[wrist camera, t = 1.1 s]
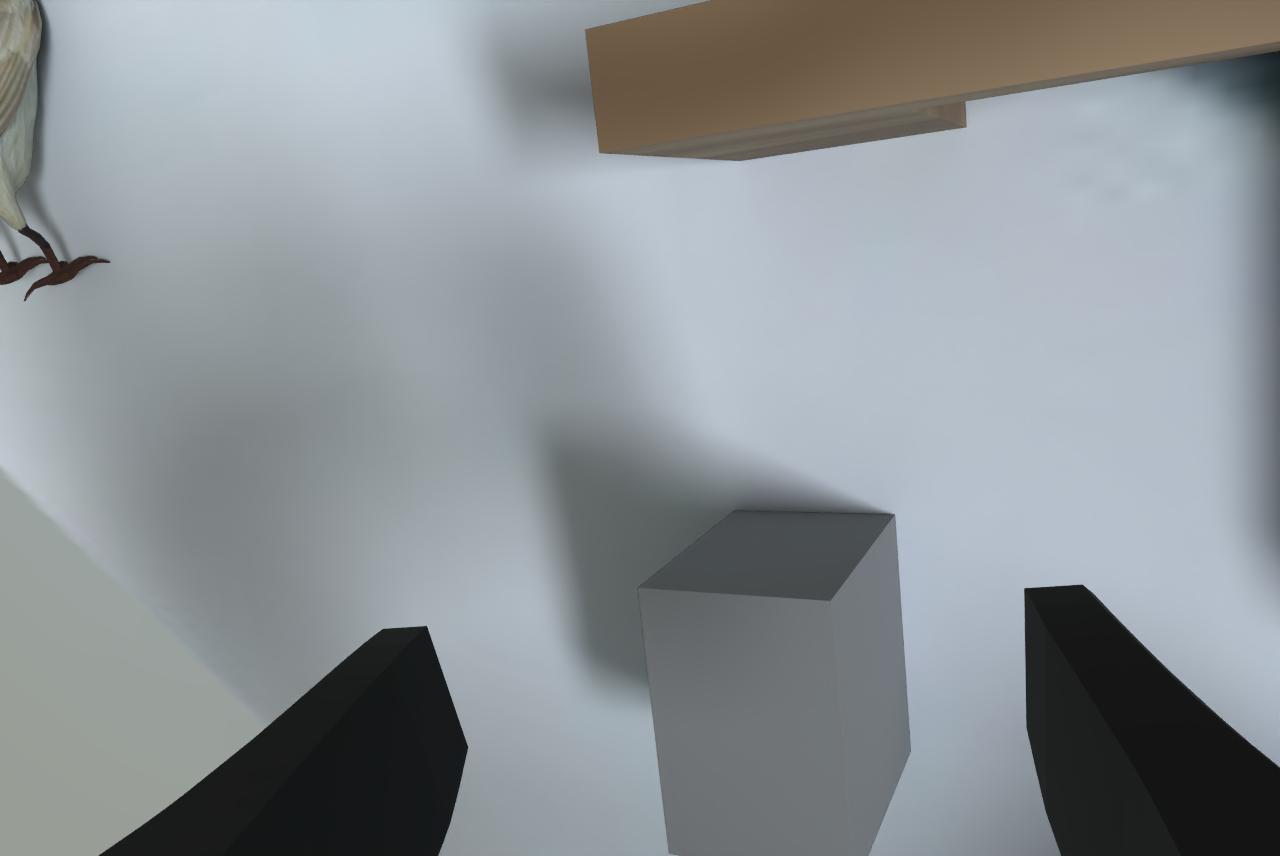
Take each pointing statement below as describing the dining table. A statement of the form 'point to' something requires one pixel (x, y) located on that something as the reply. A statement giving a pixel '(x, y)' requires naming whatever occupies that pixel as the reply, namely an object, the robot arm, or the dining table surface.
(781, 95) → the wooden plank
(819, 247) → the dining table surface
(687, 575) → the block
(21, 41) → the decorative bird
